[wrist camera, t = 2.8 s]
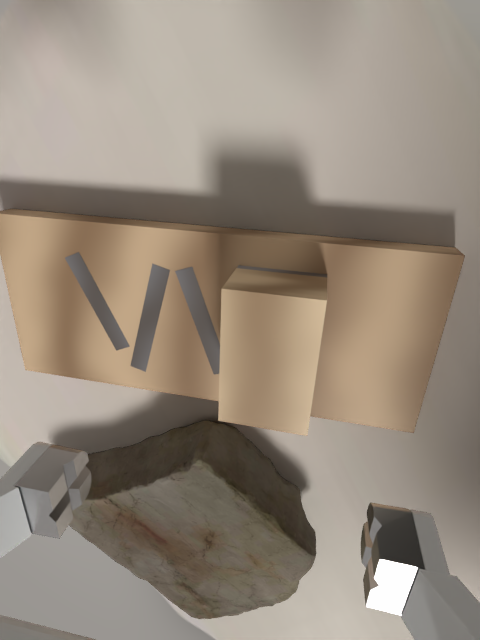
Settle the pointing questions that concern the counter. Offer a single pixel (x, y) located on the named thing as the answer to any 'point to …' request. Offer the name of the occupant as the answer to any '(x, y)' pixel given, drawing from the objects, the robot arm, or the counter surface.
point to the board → (205, 307)
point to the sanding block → (270, 347)
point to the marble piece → (199, 520)
